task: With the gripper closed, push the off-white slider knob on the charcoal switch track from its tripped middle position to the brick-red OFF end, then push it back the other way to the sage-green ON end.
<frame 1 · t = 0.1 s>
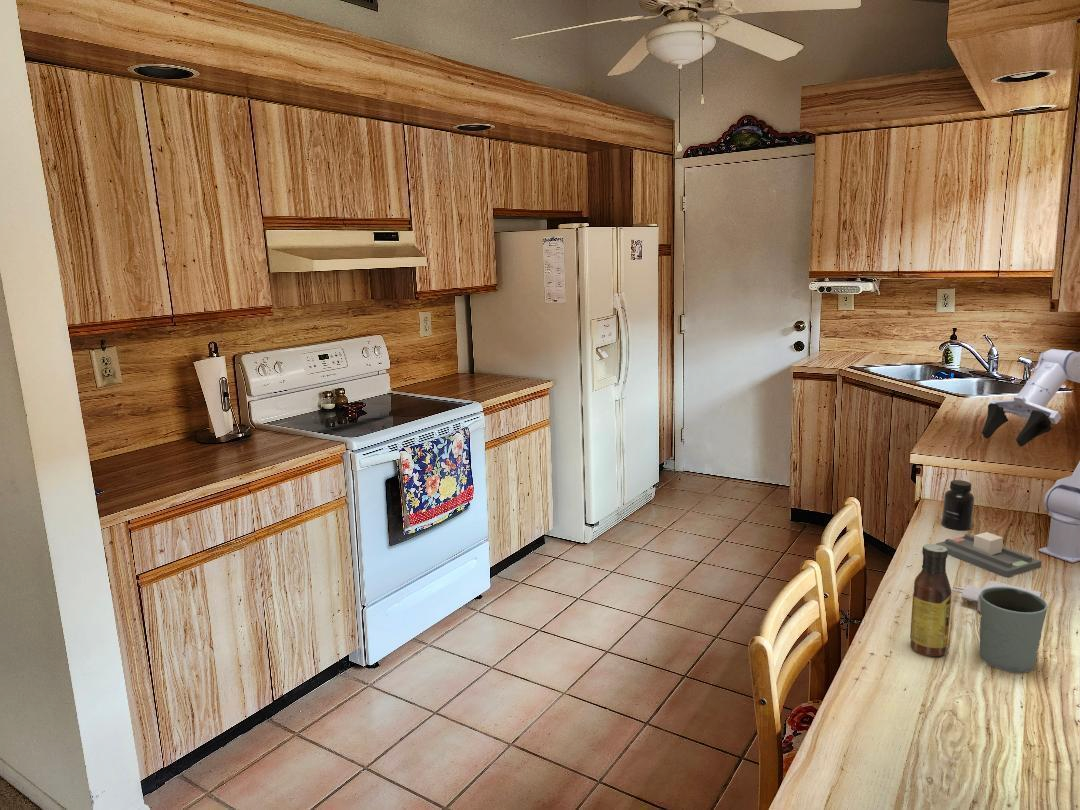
hand: (1001, 439, 162), 32 cm above the countertop, tool tilted 50°, fingers open, 7 cm apart
charger: (992, 610, 155), on the countertop
supplement bottle: (956, 526, 199), on the countertop
sauce bottle: (927, 649, 140), on the countertop
grey cup: (1006, 661, 136), on the countertop
slider knob: (987, 543, 178), point 4 cm above the countertop, slide at 0.0 cm
switch track: (986, 558, 179), on the countertop
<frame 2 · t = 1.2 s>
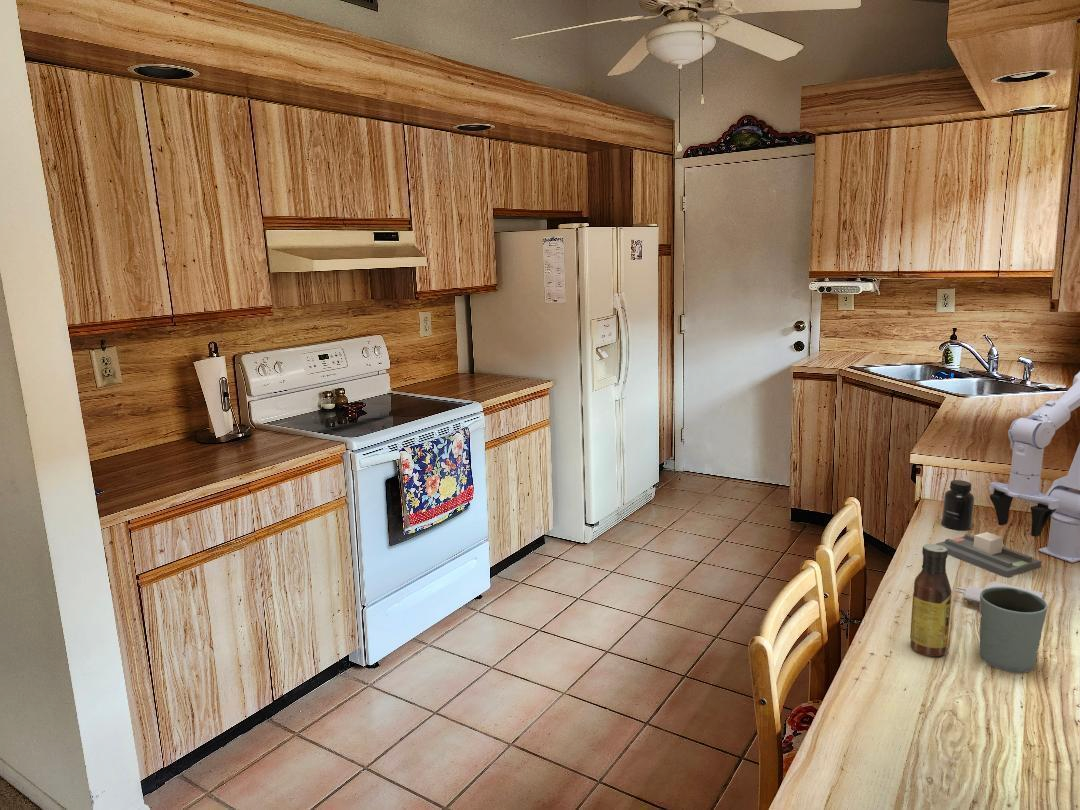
hand: (1018, 529, 170), 9 cm above the countertop, tool pointing down, fingers open, 7 cm apart
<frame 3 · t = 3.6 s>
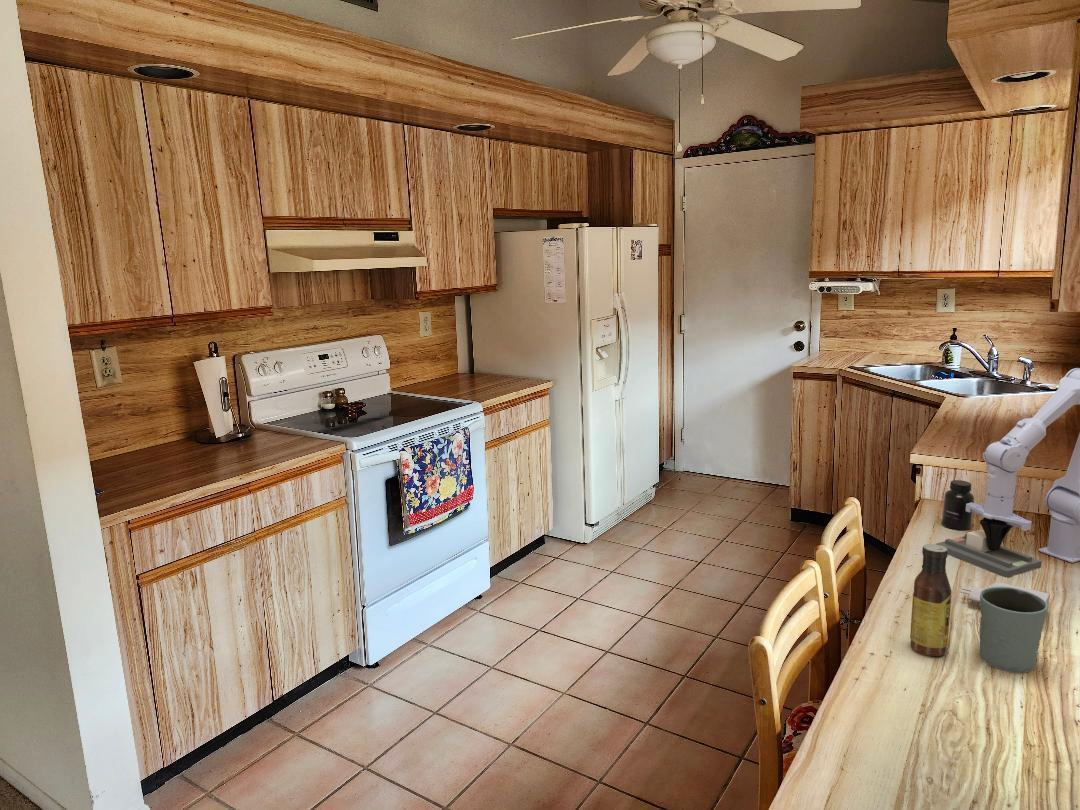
hand: (993, 549, 177), 3 cm above the countertop, tool pointing down, fingers closed
slider knob: (980, 541, 179), point 4 cm above the countertop, slide at -1.9 cm, touching gripper
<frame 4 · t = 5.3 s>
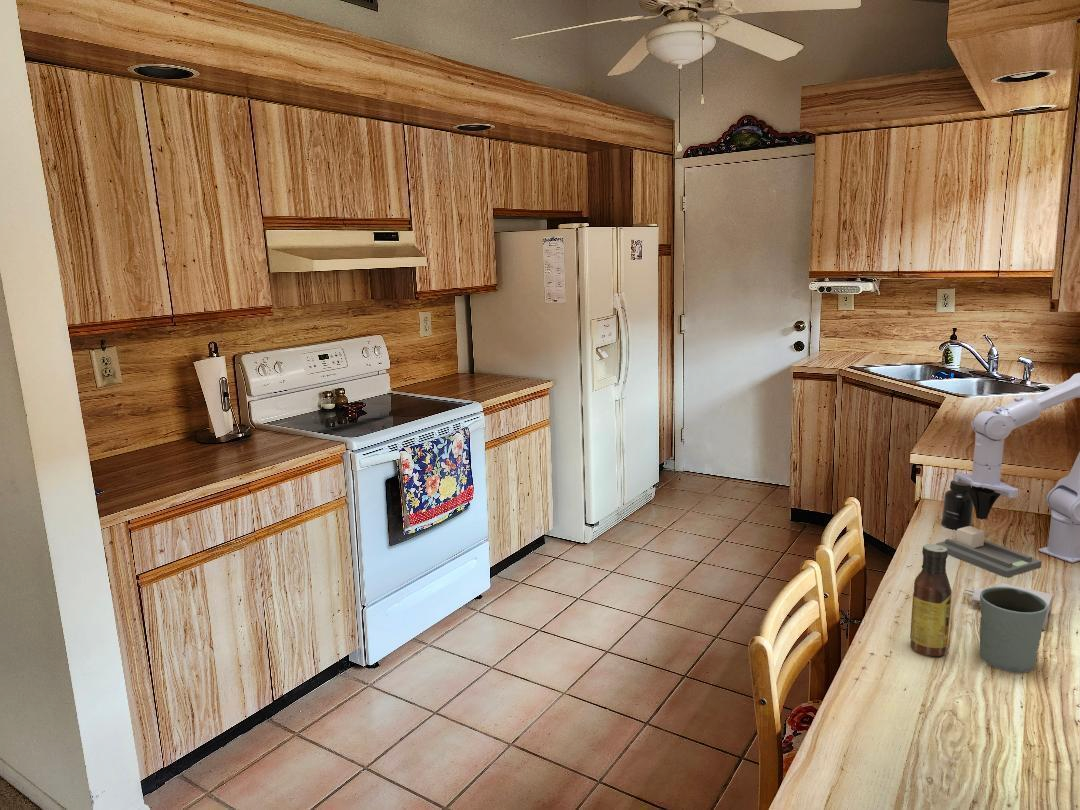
hand: (981, 518, 179), 9 cm above the countertop, tool pointing down, fingers closed
slider knob: (970, 537, 182), point 4 cm above the countertop, slide at -4.5 cm
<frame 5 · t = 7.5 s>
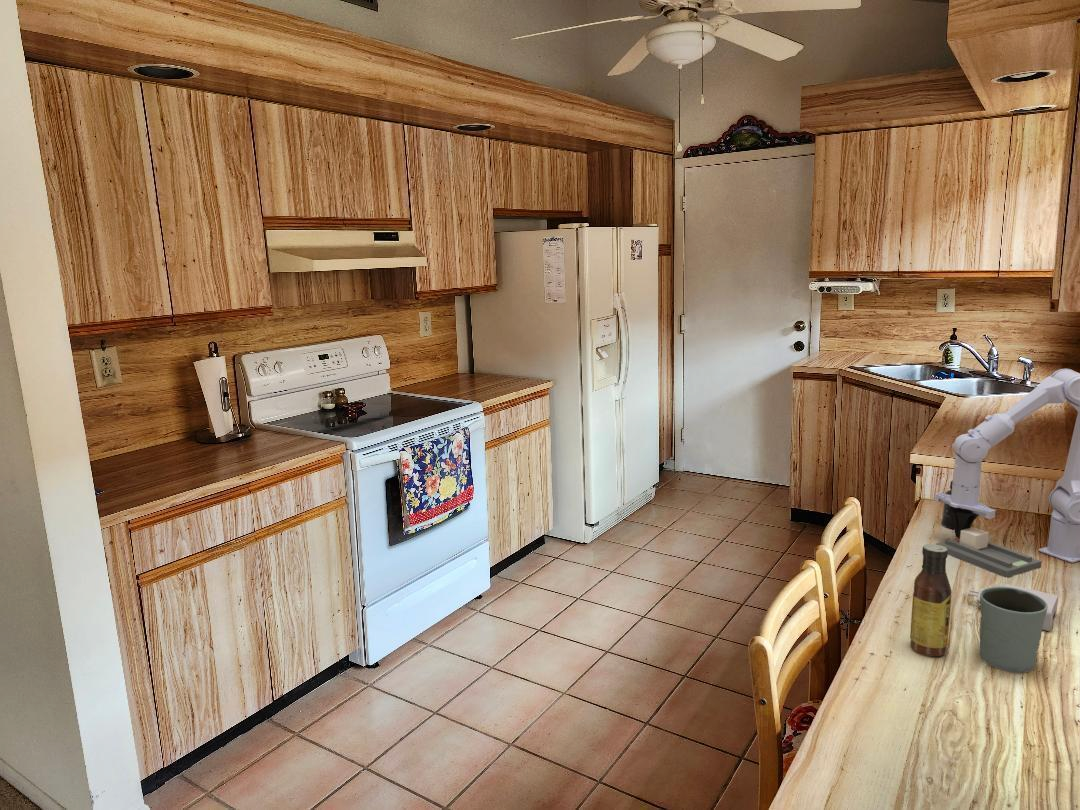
hand: (960, 537, 184), 3 cm above the countertop, tool pointing down, fingers closed
slider knob: (974, 538, 181), point 4 cm above the countertop, slide at -3.5 cm, touching gripper
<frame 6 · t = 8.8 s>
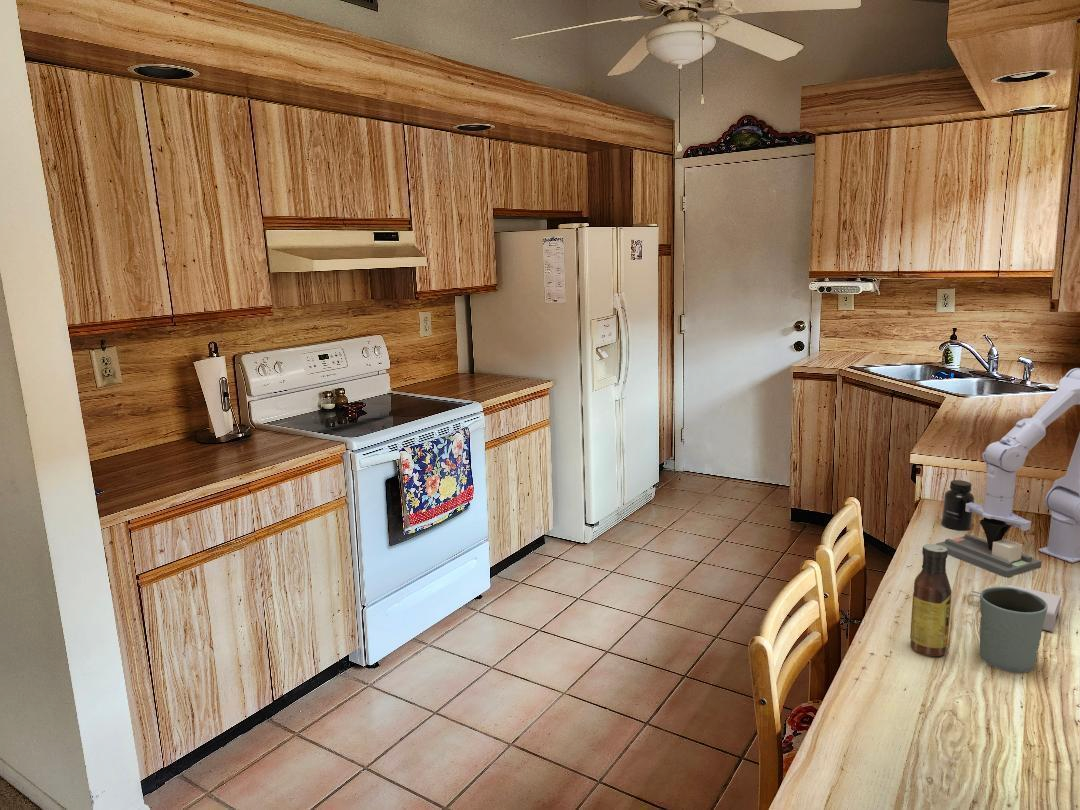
hand: (993, 549, 177), 3 cm above the countertop, tool pointing down, fingers closed
slider knob: (1006, 550, 174), point 4 cm above the countertop, slide at 4.6 cm, touching gripper
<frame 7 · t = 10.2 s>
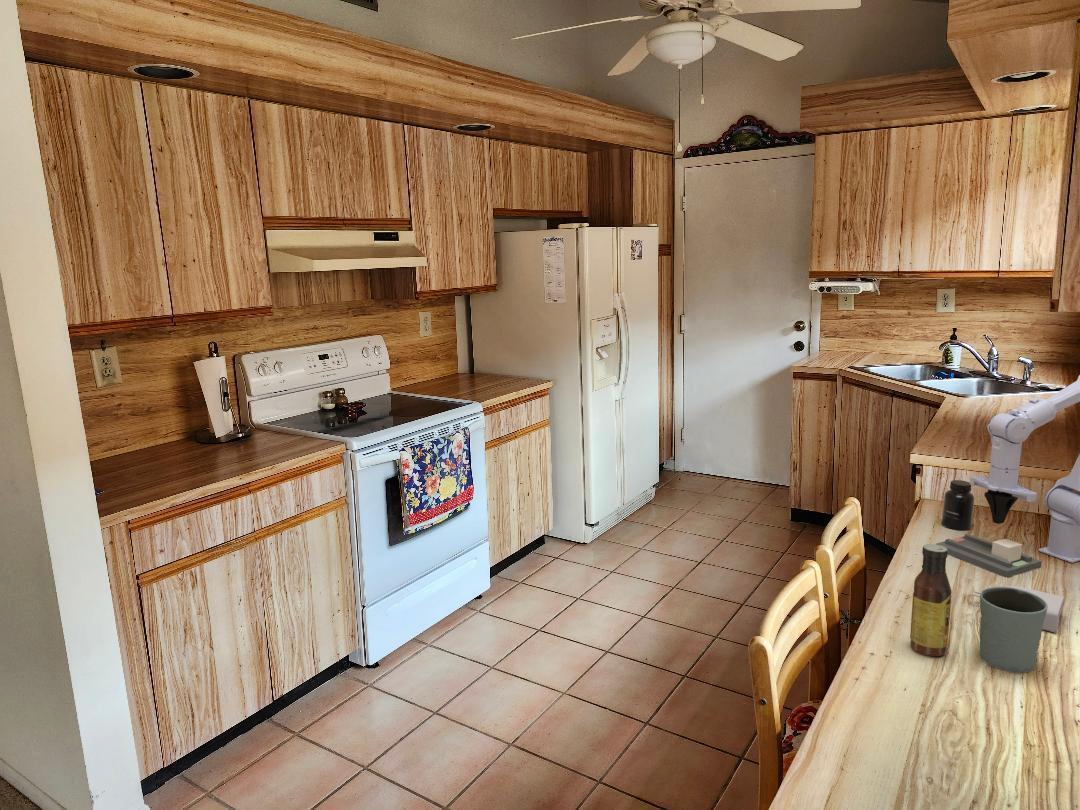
hand: (998, 522, 175), 9 cm above the countertop, tool pointing down, fingers closed
slider knob: (1006, 550, 174), point 4 cm above the countertop, slide at 4.5 cm
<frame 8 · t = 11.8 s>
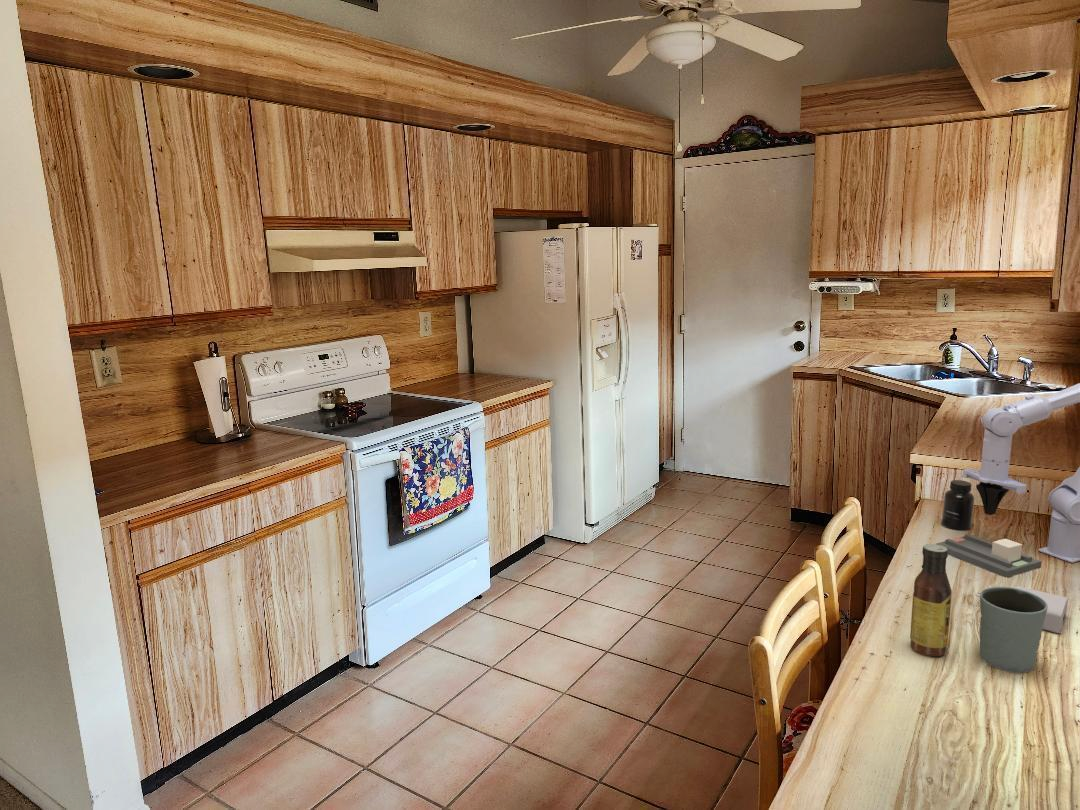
hand: (989, 513, 181), 9 cm above the countertop, tool pointing down, fingers closed
at the end: slider knob slide at 4.5 cm; supplement bottle moved 0.2 cm from its start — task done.
